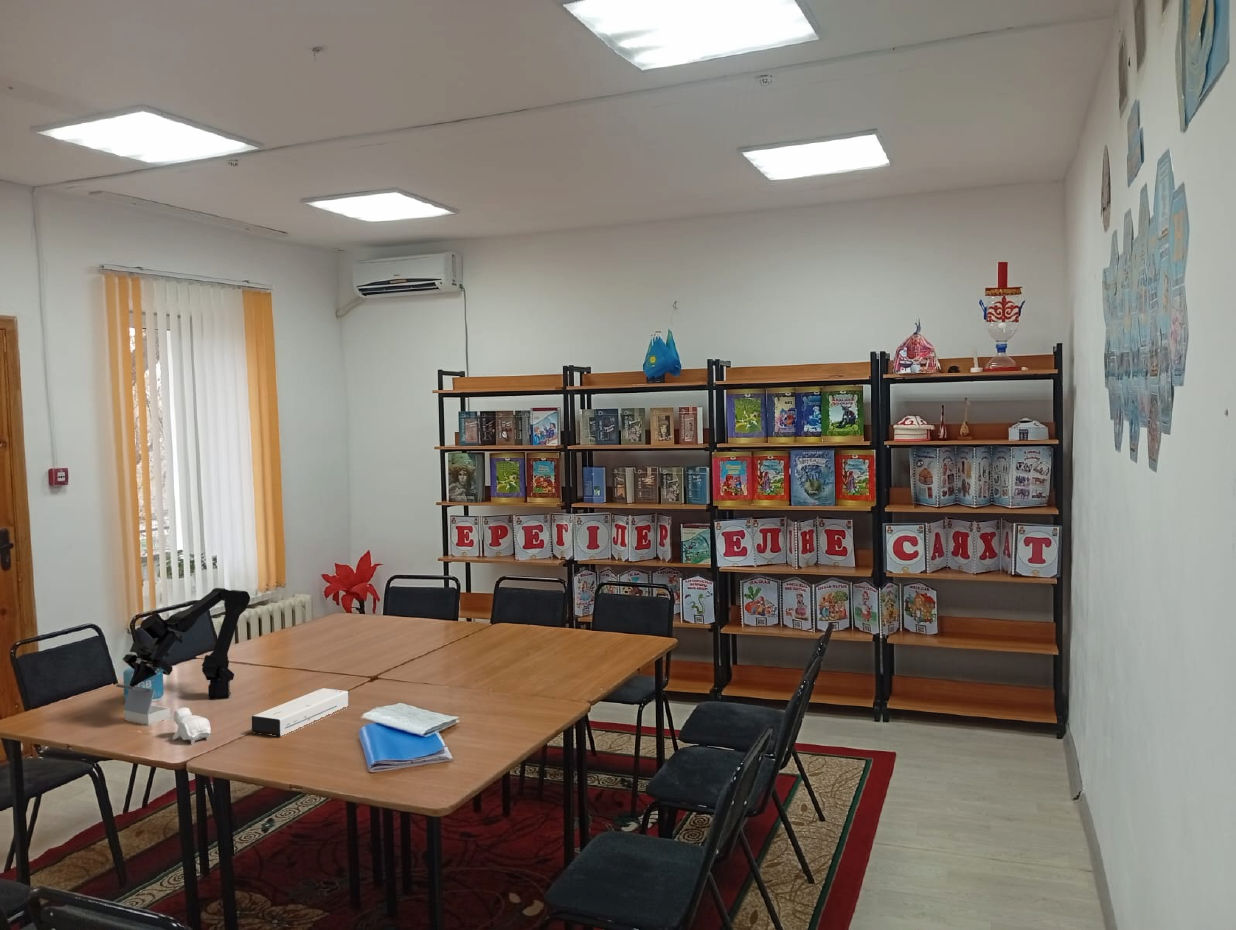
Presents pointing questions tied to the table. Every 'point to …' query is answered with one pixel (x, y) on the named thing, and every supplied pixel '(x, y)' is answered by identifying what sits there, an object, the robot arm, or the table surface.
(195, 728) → the white animal figurine
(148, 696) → the carton lid
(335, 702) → the laminator
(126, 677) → the data package
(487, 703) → the table surface
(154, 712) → the carton
